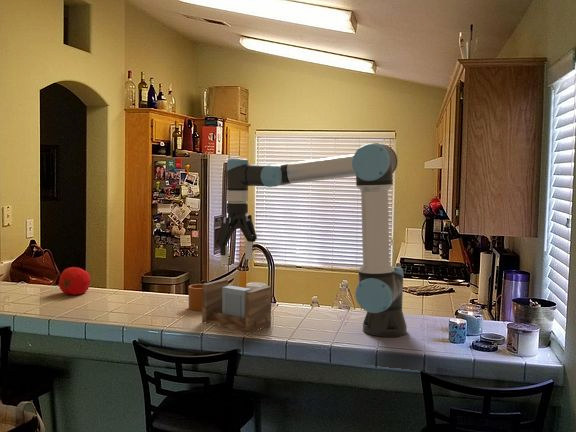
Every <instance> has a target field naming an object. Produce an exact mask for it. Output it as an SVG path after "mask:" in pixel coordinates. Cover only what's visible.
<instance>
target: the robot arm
mask: <svg viewBox="0 0 576 432" xmlns="http://www.w3.org/2000/svg"><path fill="white" fill-rule="evenodd" d="M398 163H399V160H398V156H397V154H396V152H395V150H394V149H393V148H392V147H391V146H390V145H386V144H383V143H378V142H370V143H366V144H363V145H361V146H360V147H358V149H357V150H355V152H354V153H353V154H347V155H340V156H333V157H332V156H331V157H326V158H325V157H324V158H317V159H310V160H303V161H296V162H294V161H293V162H289V163H288V162H287V163H281V164H280V163H279V164H249V160H248V159H247V158H228V160H227V162H226V201H227V204H226V214H228V216H227V217H226V216H222V217H221V225H220V227H219V232H218V234H217V236H216V240H215V245H217V246H220V247H219V248H220V249H219V250H220V251H219V255H220V264H221V265H225V266H227V265H229V246H228V243H229V241H230V239H231V238H232V236H233V233H234V232H235V231H236V230H239V229H240V231H241V232H242V234H243V236H244V238H245V240H246V241H244V244H245V246H244V248H245V249H244V251H245V252H244V259H245V260H247V261H248V260H250V261H253V249H254V242H256V241H257V239H258V235H257V233H256V230H255V227H254V224H253V221H252V220H253V219H252V215H251V214H248V213H249V207H248V206H249V204H248V203H247V202H248V201H249V187H265V188H266V187H267V188H273V187H274V188H275V187H278V186H285V185H291V184H298V183H306V182H307V183H309V182H318V181H324V180H333V179H335V180H336V179H343V178H352V177H355V182H356V183H355V184H356V187H357V189H359V191H360V195H361V196H360V198H361V203H360V204H361V207H360V208H361V236H362V237H361V238H362V239H361V240H362V241H361V245H362V247H361V248H362V265H361V266H360V267H359V268H358V284H357V285H356V288H355V290H354V291H355V293H354V294H355V296H354V297H355V299H356V302H357V304H358V305H359V307H360V308H361V309H363V311H365V312H366V314H365V317H364V320H363V322H362V331H363V332H364V333H365V334H367V335H372V336H375V337H381V338H394V337H395V338H396V337H402V336H405V335H406V334H407V332H408V331H407V329H408V327H407V322H406V319H405V315H404V312H403V297H404V296H403V293H404V291H403V290H404V277H405V275H404V269H403V268H402V267H401V266H400V267H399V266H393V265H391V264H390V228H389V226H390V225H389V224H390V223H389V222H390V221H389V218H390V217H389V215H390V214H389V190H390V189H391V188H392V186H393V185H394V183H393V180H394V179H393V174H394V173H395V171H396V170H397V167H398Z"/></svg>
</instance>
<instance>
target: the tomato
mask: <svg viewBox="0 0 576 432" xmlns="http://www.w3.org/2000/svg"><path fill="white" fill-rule="evenodd" d="M91 281H92V279H91V276H90V274H89V272H88V271H86V270H84V269H83V268H81V267H76V266H72V267H67V268H65V269H64V270H63V271H62V272H61V274H60V278H59V280H58V286H59V289H60V291H61V292H62V293H63V294H66V295H74V296H76V295H77V296H78V295H83V294H84V293H86V292H87V291H88V290H89V288H90V285H91Z"/></svg>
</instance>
